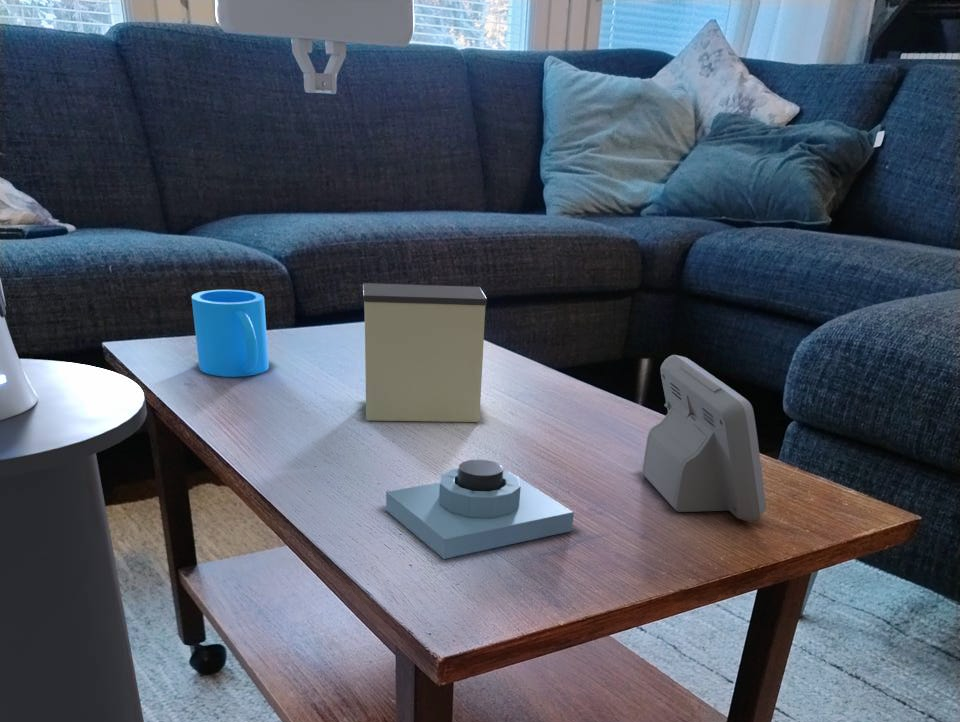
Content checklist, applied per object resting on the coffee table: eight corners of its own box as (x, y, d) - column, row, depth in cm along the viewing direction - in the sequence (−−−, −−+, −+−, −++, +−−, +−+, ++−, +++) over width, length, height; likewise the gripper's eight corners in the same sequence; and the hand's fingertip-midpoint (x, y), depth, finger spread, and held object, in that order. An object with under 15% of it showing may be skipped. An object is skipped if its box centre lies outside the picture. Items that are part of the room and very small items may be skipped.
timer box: (443, 559, 68) (445, 516, 66) (385, 510, 75) (385, 470, 74) (572, 531, 74) (576, 491, 72) (506, 488, 81) (509, 450, 79)
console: (480, 422, 96) (487, 299, 90) (365, 421, 95) (363, 295, 88) (474, 404, 101) (479, 286, 95) (364, 403, 100) (363, 283, 93)
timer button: (471, 497, 71) (472, 478, 70) (449, 481, 73) (450, 463, 73) (510, 490, 72) (511, 471, 72) (487, 474, 75) (488, 456, 74)
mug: (190, 361, 110) (182, 291, 106) (255, 356, 114) (250, 288, 110) (220, 388, 102) (213, 313, 97) (290, 381, 105) (285, 308, 101)
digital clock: (767, 531, 76) (797, 406, 70) (660, 525, 76) (682, 400, 70) (725, 462, 90) (747, 353, 84) (634, 457, 89) (650, 348, 84)
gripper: (218, -93, 80) (232, 89, 87) (422, -63, 90) (419, 99, 97) (197, -86, 85) (212, 87, 92) (393, -58, 94) (393, 96, 101)
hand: (320, 93), depth 94 cm, fingers closed
